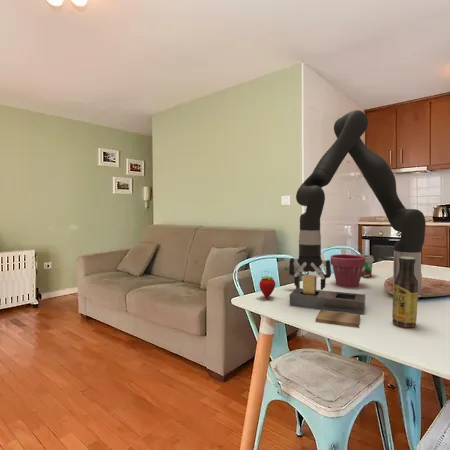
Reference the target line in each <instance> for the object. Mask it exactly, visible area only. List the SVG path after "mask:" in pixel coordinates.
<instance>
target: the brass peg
mask: <svg viewBox="0 0 450 450" xmlns="http://www.w3.org/2000/svg"><path fill="white" fill-rule="evenodd" d="M302 289H303V294H304V295H314V296H316V290H317V275H315V274H314V275H313V274H309V275H304V276H302Z"/></svg>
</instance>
